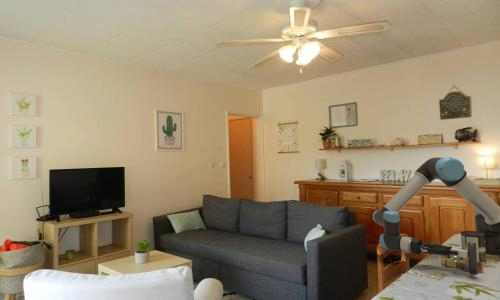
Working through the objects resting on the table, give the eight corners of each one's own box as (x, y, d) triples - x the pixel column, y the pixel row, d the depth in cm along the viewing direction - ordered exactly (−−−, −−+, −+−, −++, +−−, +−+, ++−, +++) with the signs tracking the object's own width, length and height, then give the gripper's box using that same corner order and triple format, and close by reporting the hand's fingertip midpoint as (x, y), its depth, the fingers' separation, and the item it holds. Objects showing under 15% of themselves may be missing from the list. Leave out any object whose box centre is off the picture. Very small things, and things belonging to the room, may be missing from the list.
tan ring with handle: (437, 260, 167) (435, 233, 167) (461, 259, 166) (459, 232, 167) (461, 274, 146) (460, 244, 146) (489, 274, 145) (487, 243, 145)
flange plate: (440, 259, 174) (440, 248, 174) (487, 267, 159) (487, 255, 160) (429, 268, 161) (428, 256, 161) (478, 277, 147) (477, 264, 147)
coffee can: (480, 258, 173) (479, 230, 174) (490, 264, 163) (488, 235, 164) (458, 257, 175) (457, 230, 176) (467, 263, 165) (465, 235, 166)
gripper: (417, 250, 170) (472, 259, 153) (406, 256, 161) (463, 266, 144) (416, 235, 170) (471, 242, 153) (406, 240, 161) (462, 248, 144)
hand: (467, 254), depth 149 cm, fingers closed, pressing on tan ring with handle
